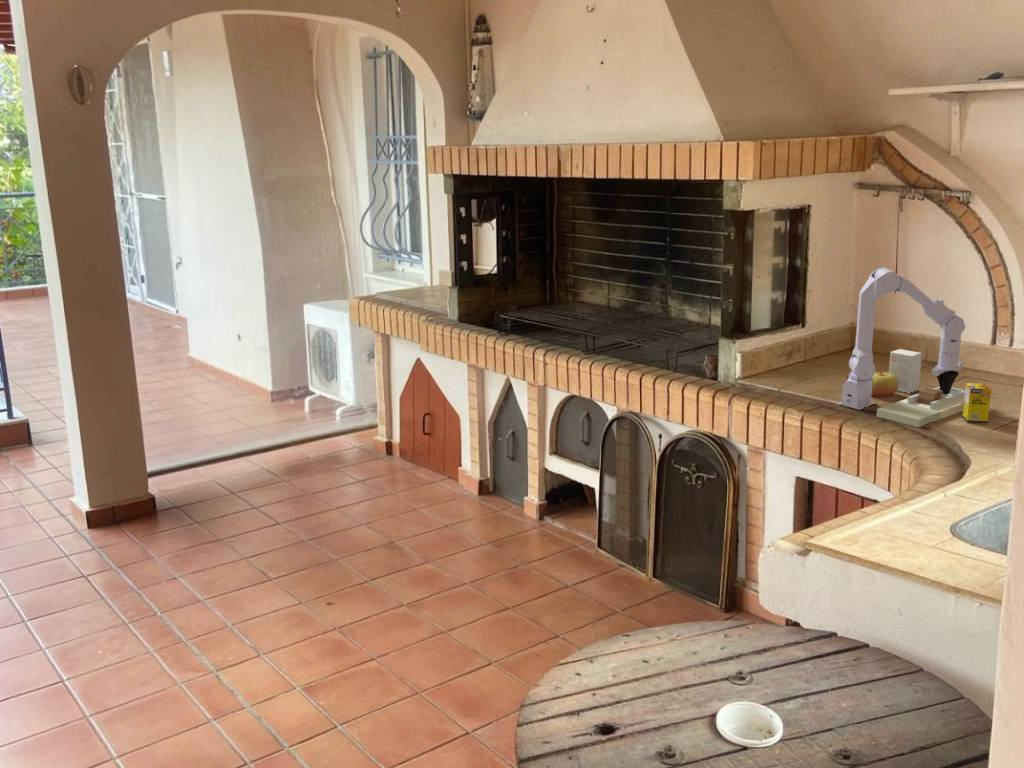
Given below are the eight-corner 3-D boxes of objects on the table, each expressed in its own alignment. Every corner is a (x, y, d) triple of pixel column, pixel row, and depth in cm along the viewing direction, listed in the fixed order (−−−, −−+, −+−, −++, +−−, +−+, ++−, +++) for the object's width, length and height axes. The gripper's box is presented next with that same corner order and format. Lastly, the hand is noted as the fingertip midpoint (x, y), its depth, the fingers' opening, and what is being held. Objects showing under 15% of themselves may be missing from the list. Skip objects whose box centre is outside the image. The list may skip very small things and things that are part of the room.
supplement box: (987, 423, 290) (992, 388, 287) (966, 423, 291) (970, 388, 288) (982, 417, 295) (986, 383, 292) (961, 417, 297) (965, 382, 294)
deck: (918, 427, 288) (919, 413, 287) (876, 416, 299) (877, 402, 298) (974, 406, 306) (976, 392, 305) (933, 396, 317) (934, 383, 316)
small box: (918, 390, 324) (922, 352, 321) (909, 394, 321) (912, 356, 317) (896, 385, 331) (899, 348, 327) (886, 389, 327) (889, 351, 323)
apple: (868, 389, 327) (870, 366, 324) (899, 393, 322) (901, 370, 319) (862, 397, 318) (864, 373, 316) (893, 401, 314) (896, 377, 311)
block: (932, 406, 299) (934, 393, 298) (917, 402, 303) (919, 390, 302) (941, 403, 302) (942, 390, 301) (926, 399, 306) (927, 387, 305)
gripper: (949, 358, 296) (944, 400, 300) (973, 350, 304) (969, 391, 308) (927, 354, 302) (923, 395, 305) (952, 346, 310) (948, 387, 314)
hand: (944, 393), depth 307 cm, fingers closed
